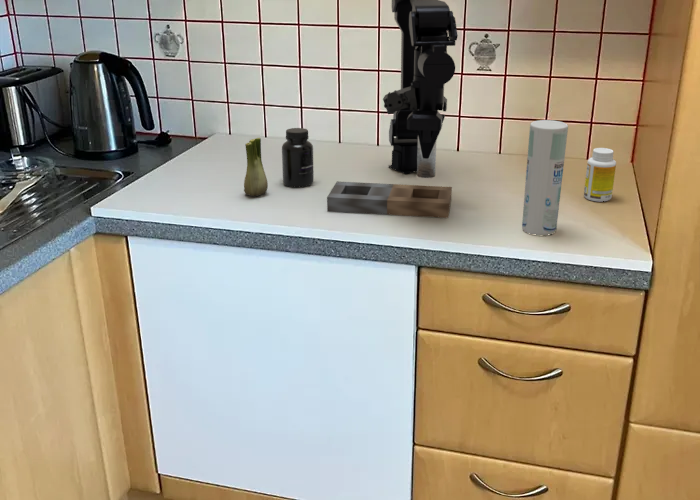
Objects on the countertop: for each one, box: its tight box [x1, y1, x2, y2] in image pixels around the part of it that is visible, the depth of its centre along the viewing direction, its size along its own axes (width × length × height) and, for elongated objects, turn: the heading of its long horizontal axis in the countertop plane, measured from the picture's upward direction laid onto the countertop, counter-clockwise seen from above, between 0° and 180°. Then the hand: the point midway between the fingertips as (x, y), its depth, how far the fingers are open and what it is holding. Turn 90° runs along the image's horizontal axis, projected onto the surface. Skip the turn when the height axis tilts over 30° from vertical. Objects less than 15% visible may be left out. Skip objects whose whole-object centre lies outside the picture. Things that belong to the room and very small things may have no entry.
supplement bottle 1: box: [281, 127, 315, 189], centre depth 165 cm, size 7×7×12 cm
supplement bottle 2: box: [583, 147, 617, 203], centre depth 154 cm, size 6×6×10 cm
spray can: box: [521, 119, 569, 236], centre depth 137 cm, size 6×6×20 cm
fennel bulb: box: [243, 137, 268, 197], centre depth 158 cm, size 6×5×12 cm
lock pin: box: [416, 137, 437, 179], centre depth 147 cm, size 4×4×10 cm
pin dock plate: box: [326, 180, 453, 219], centre depth 153 cm, size 24×10×3 cm, turn 80°
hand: (426, 155), depth 148 cm, fingers closed on lock pin, 4 cm apart
